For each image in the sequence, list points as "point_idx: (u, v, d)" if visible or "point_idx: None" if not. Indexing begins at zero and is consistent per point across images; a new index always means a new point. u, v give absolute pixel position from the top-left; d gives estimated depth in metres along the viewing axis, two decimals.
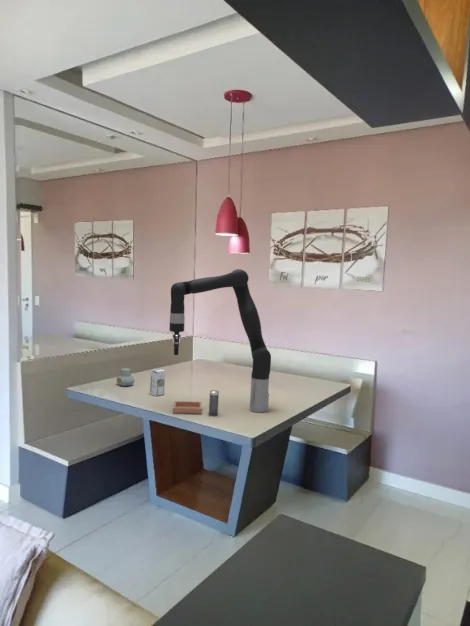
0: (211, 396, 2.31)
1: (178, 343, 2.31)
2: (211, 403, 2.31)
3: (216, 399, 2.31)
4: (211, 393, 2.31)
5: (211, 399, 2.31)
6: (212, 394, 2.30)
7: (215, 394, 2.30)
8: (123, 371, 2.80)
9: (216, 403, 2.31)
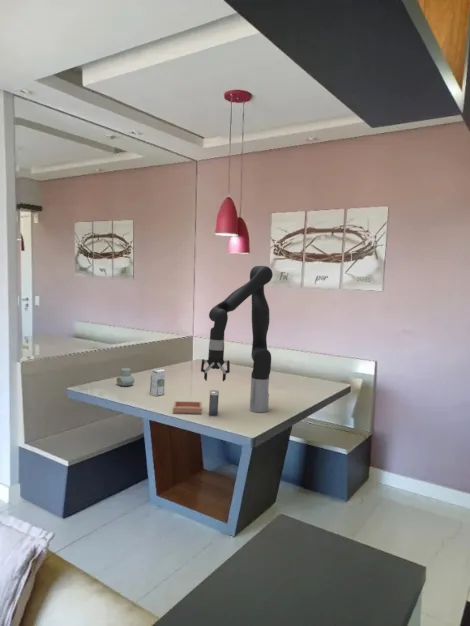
0: (211, 396, 2.31)
1: None
2: (211, 403, 2.31)
3: (216, 399, 2.31)
4: (211, 393, 2.31)
5: (211, 399, 2.31)
6: (212, 394, 2.30)
7: (215, 394, 2.30)
8: (123, 371, 2.80)
9: (216, 403, 2.31)
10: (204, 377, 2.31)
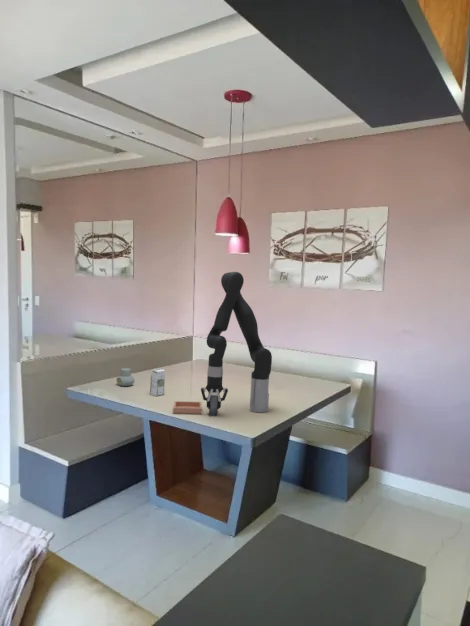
0: (211, 396, 2.31)
1: None
2: (211, 403, 2.31)
3: (216, 399, 2.31)
4: (211, 393, 2.31)
5: (211, 399, 2.31)
6: (212, 394, 2.30)
7: (215, 394, 2.30)
8: (123, 371, 2.80)
9: (216, 403, 2.31)
10: None
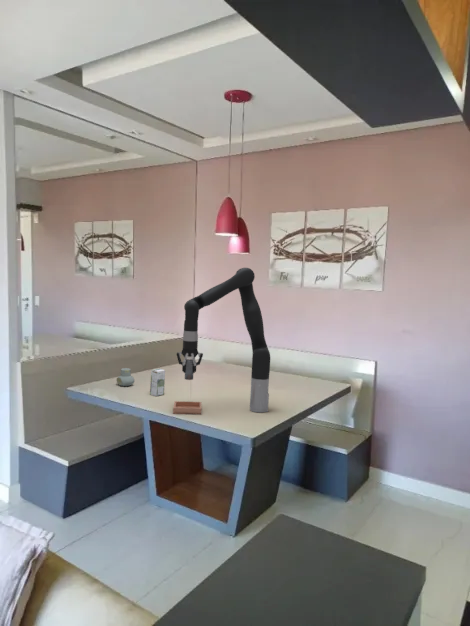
0: (186, 360, 2.37)
1: None
2: (186, 367, 2.37)
3: (191, 363, 2.37)
4: None
5: (186, 363, 2.37)
6: (187, 358, 2.36)
7: (190, 358, 2.36)
8: (123, 371, 2.80)
9: (191, 367, 2.37)
10: (182, 369, 2.38)
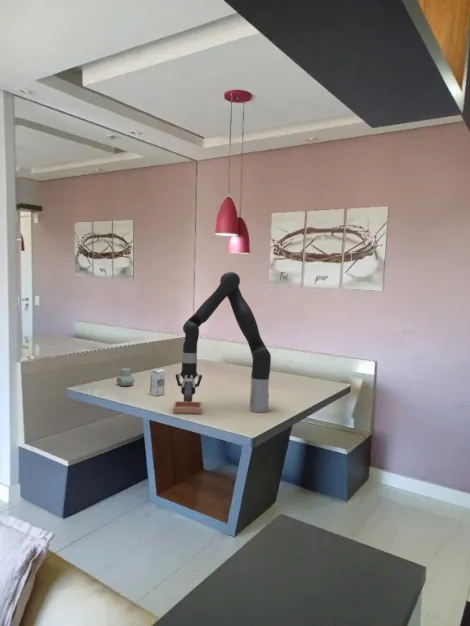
0: (185, 382, 2.35)
1: None
2: (185, 389, 2.36)
3: (190, 385, 2.35)
4: None
5: (185, 385, 2.35)
6: (186, 380, 2.35)
7: (189, 380, 2.35)
8: (123, 371, 2.80)
9: (190, 388, 2.36)
10: (181, 391, 2.37)
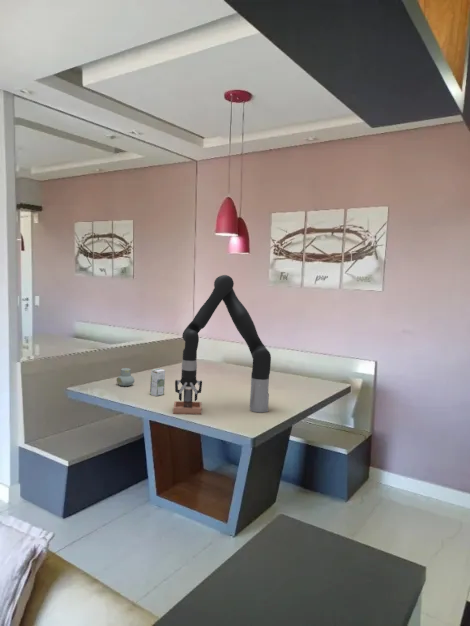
0: (185, 390, 2.36)
1: None
2: (185, 397, 2.36)
3: (190, 393, 2.36)
4: (185, 387, 2.36)
5: (185, 393, 2.36)
6: (186, 388, 2.35)
7: (189, 388, 2.35)
8: (123, 371, 2.80)
9: (190, 397, 2.36)
10: (179, 397, 2.37)
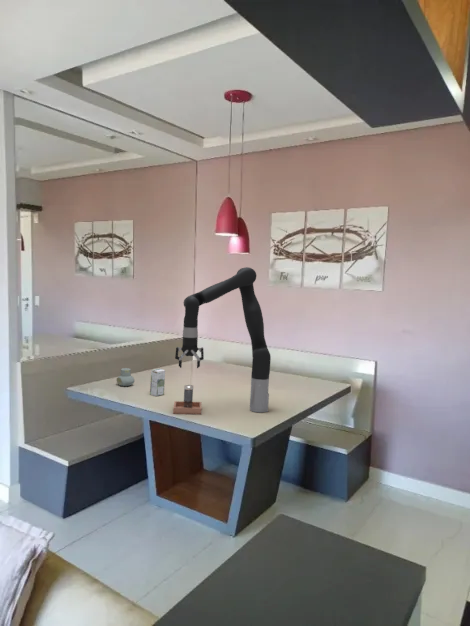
0: (185, 391, 2.36)
1: None
2: (185, 397, 2.36)
3: (190, 393, 2.36)
4: (185, 388, 2.35)
5: (185, 393, 2.36)
6: (186, 389, 2.35)
7: (189, 389, 2.35)
8: (123, 371, 2.80)
9: (190, 397, 2.36)
10: (179, 364, 2.35)
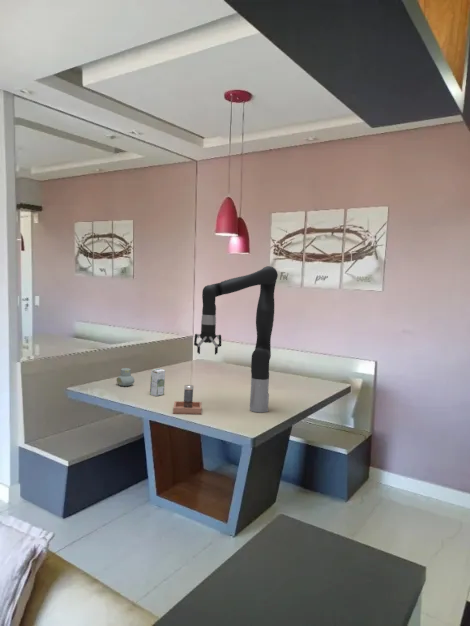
0: (185, 390, 2.36)
1: None
2: (185, 397, 2.36)
3: (190, 393, 2.36)
4: (185, 388, 2.35)
5: (185, 393, 2.36)
6: (186, 388, 2.35)
7: (189, 389, 2.35)
8: (123, 371, 2.80)
9: (190, 397, 2.36)
10: (197, 351, 2.43)
